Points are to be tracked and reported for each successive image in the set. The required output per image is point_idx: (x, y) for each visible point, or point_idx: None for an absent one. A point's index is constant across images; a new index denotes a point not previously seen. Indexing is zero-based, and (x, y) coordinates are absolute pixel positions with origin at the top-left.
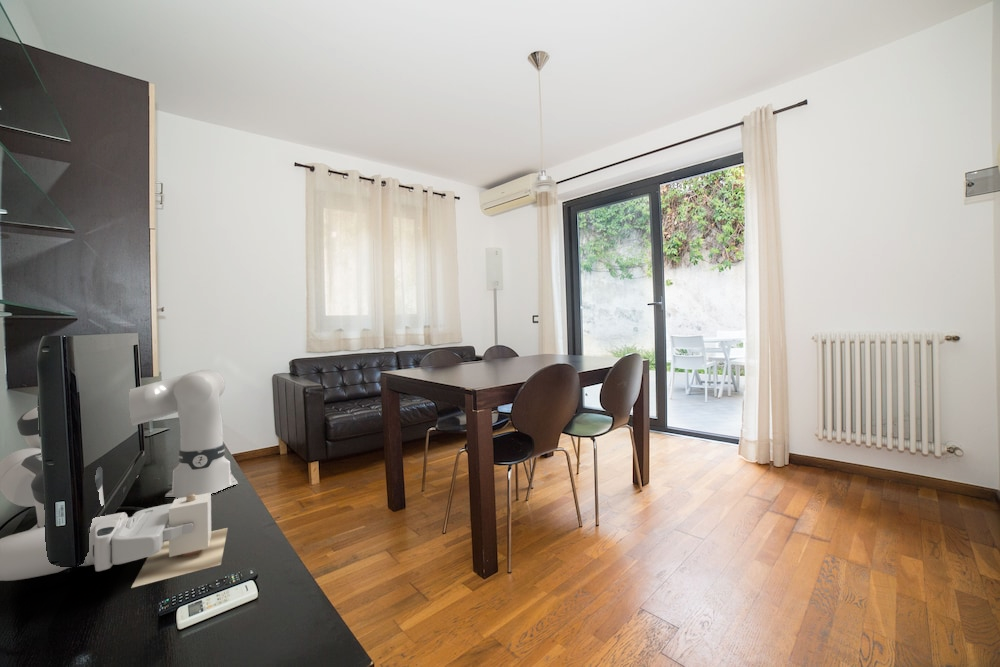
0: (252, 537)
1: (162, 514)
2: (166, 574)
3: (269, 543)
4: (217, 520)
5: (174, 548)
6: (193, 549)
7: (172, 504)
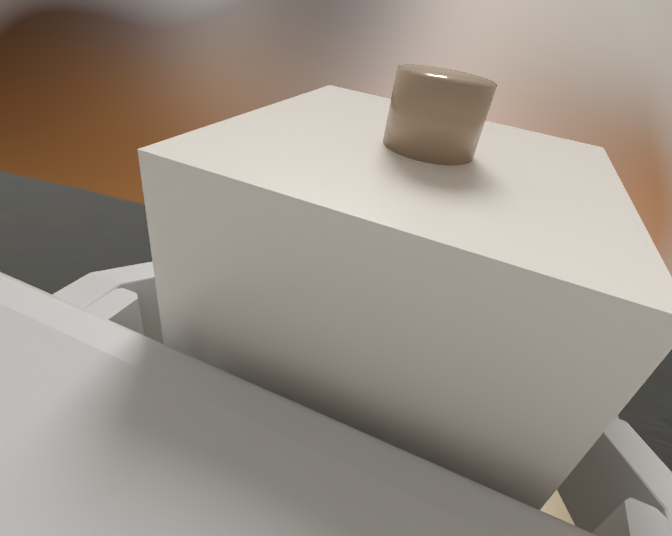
0: None
1: (95, 413)
2: None
3: None
4: (16, 274)
5: None
6: None
7: (417, 227)
